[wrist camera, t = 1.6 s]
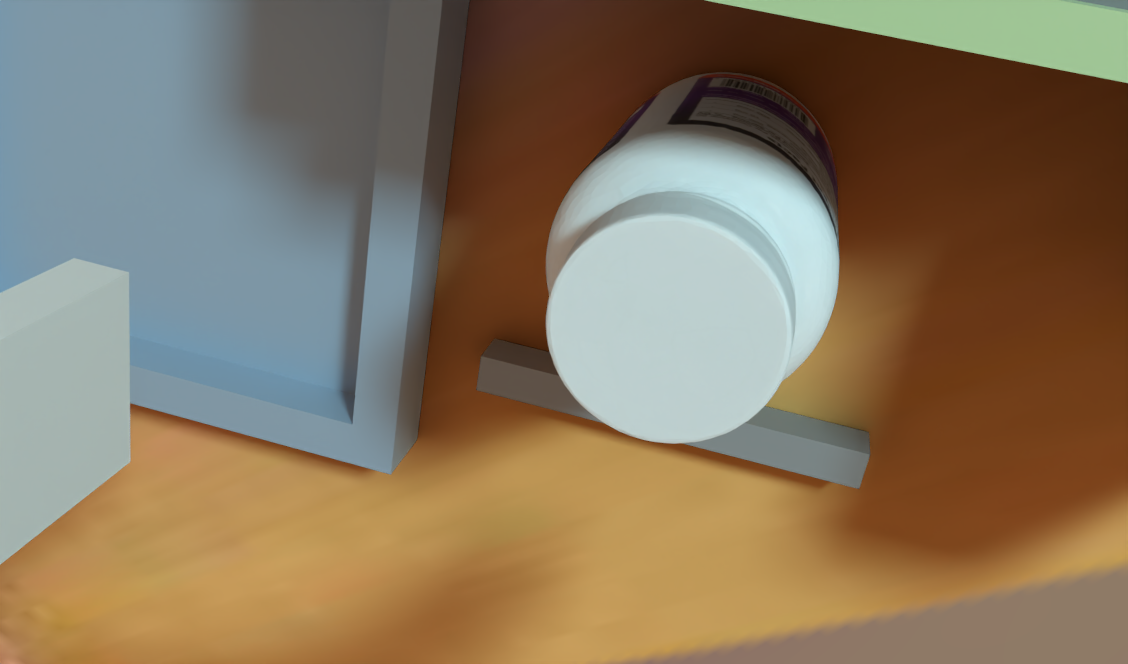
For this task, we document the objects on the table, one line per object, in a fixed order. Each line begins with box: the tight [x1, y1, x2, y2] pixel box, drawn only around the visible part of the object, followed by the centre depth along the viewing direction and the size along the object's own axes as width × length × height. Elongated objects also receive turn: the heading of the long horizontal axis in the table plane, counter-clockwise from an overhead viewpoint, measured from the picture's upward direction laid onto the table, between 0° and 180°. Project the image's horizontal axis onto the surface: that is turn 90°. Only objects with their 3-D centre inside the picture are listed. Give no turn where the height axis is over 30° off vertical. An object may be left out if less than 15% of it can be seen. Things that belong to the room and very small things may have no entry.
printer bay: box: [476, 0, 1128, 489], centre depth 19 cm, size 21×18×11 cm
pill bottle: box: [546, 72, 840, 444], centre depth 21 cm, size 5×5×10 cm
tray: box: [0, 0, 469, 474], centre depth 28 cm, size 14×14×2 cm
